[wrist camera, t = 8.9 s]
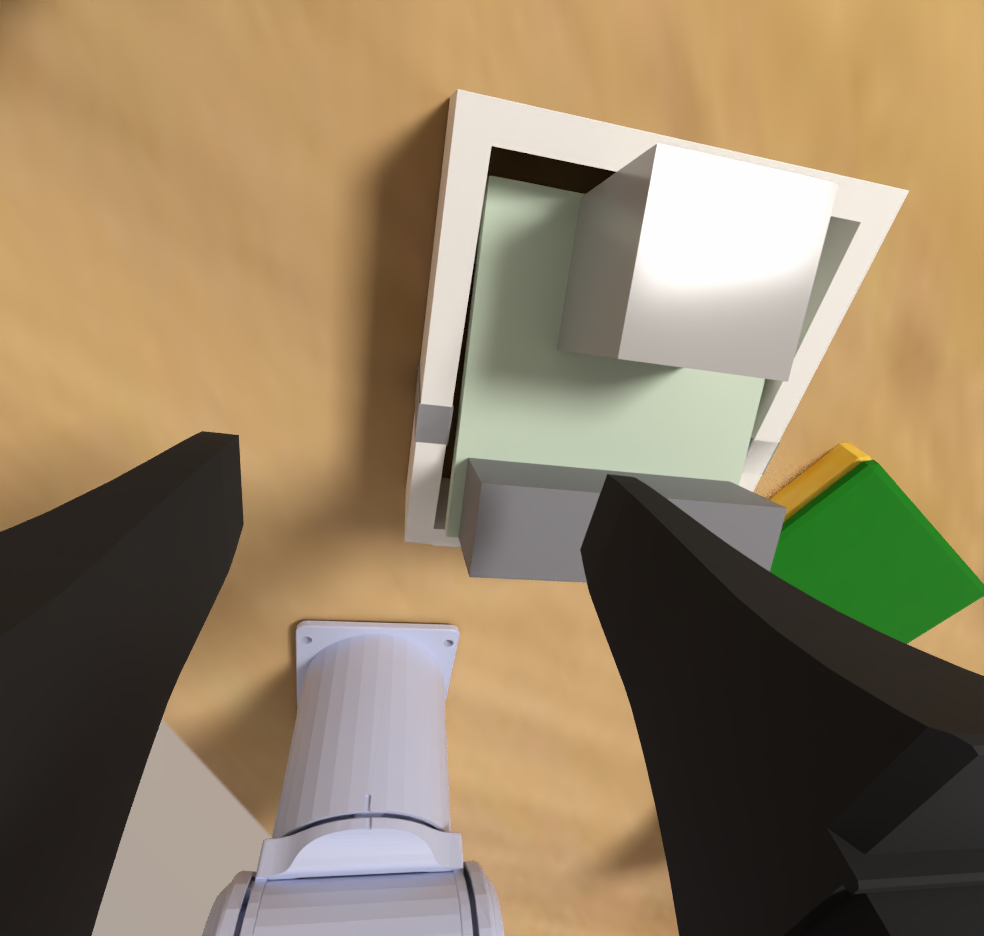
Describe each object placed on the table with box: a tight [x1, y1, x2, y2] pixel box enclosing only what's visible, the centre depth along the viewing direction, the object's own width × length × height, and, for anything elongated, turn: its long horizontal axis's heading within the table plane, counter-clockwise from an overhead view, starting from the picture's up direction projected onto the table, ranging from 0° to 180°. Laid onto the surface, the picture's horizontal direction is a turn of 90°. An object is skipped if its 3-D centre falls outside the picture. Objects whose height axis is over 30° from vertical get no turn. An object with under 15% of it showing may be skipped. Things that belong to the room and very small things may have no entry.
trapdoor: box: [445, 175, 787, 582], centre depth 17 cm, size 11×10×4 cm
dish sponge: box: [769, 442, 984, 644], centre depth 28 cm, size 7×14×2 cm, turn 49°
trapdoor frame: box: [404, 89, 909, 547], centre depth 19 cm, size 14×13×4 cm
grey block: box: [557, 143, 839, 382], centre depth 15 cm, size 4×4×5 cm
